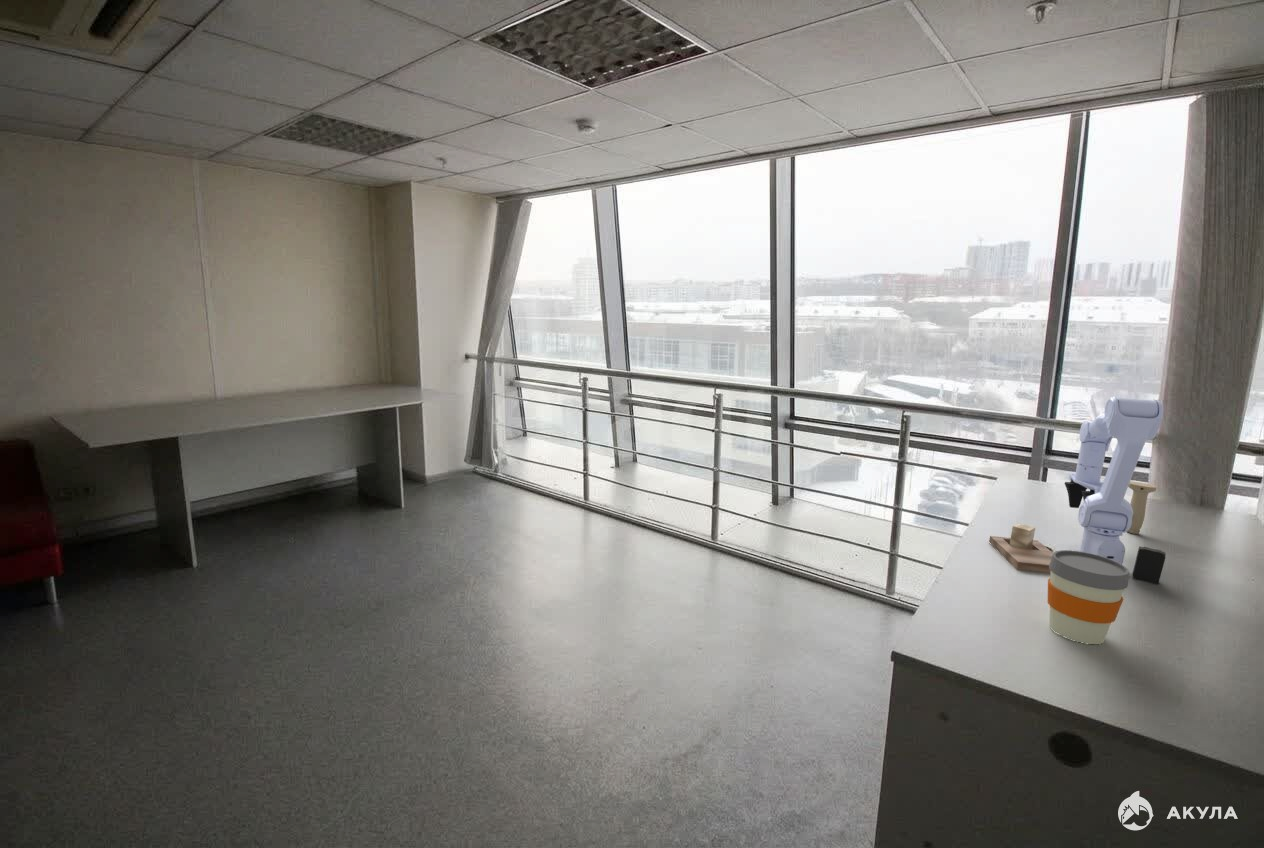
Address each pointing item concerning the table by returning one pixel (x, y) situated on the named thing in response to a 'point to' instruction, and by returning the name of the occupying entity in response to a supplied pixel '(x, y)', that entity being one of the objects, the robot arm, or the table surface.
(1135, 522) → the handle
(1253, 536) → the table surface
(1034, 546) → the slotted walnut block
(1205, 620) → the table surface
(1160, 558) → the ink cartridge
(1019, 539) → the maple peg
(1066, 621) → the reusable coffee cup
